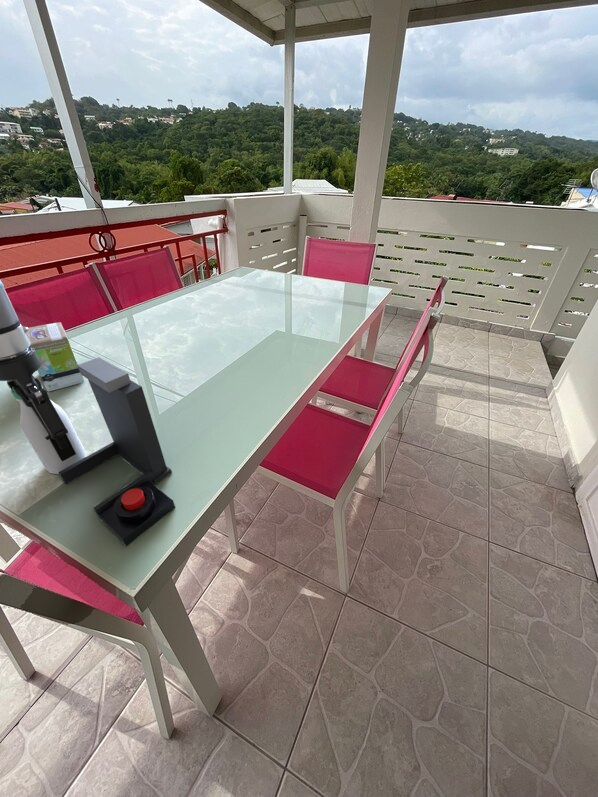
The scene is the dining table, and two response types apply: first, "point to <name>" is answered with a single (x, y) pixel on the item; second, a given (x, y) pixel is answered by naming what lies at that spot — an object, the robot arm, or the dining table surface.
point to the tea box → (54, 356)
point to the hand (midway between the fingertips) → (59, 448)
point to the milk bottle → (45, 447)
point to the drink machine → (121, 429)
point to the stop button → (133, 499)
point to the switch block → (137, 514)
